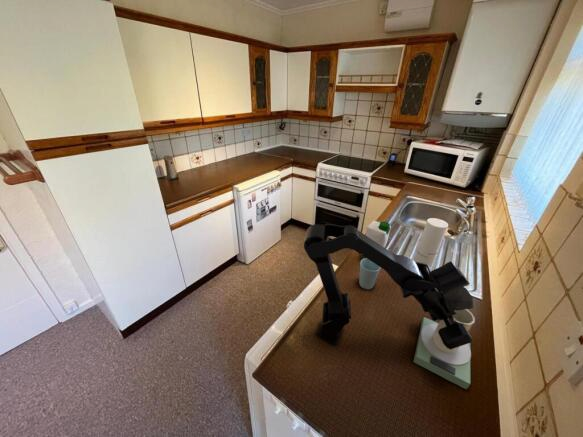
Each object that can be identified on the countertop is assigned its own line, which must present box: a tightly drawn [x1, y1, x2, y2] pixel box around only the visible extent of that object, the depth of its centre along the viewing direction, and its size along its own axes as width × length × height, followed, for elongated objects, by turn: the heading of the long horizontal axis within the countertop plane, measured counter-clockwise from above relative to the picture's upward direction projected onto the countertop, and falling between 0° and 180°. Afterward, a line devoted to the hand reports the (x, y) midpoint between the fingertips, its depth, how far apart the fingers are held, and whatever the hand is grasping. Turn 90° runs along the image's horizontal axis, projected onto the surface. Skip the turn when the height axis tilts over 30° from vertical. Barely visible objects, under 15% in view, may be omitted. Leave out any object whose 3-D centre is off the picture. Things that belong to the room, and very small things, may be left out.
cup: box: [358, 258, 382, 290], centre depth 94 cm, size 8×8×10 cm
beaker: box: [433, 309, 476, 353], centre depth 68 cm, size 7×7×12 cm
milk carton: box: [360, 220, 392, 261], centre depth 105 cm, size 9×9×20 cm
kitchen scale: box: [413, 316, 472, 390], centre depth 71 cm, size 16×13×3 cm
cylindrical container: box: [413, 217, 449, 278], centre depth 97 cm, size 7×7×25 cm
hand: (457, 328), depth 68 cm, fingers closed on beaker, 7 cm apart
